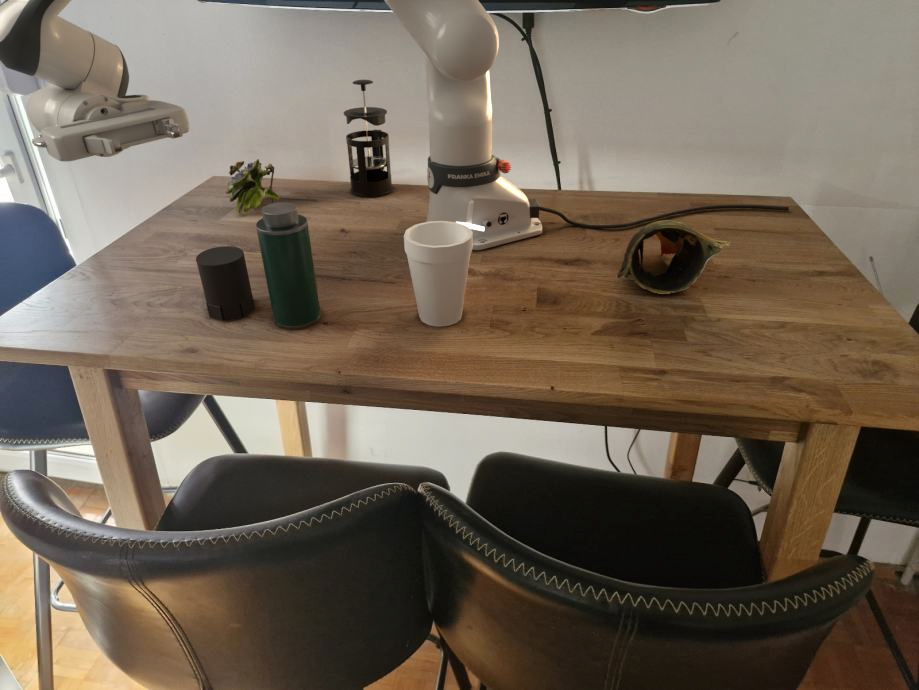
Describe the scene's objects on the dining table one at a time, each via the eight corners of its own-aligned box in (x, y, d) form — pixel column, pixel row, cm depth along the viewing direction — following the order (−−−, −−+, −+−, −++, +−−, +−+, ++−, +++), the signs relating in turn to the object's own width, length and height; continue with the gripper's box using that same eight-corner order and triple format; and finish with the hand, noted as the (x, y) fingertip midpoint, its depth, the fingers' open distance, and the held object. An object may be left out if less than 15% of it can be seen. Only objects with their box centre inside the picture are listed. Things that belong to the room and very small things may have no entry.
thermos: (316, 303, 99) (301, 196, 90) (324, 324, 94) (308, 213, 85) (271, 311, 97) (250, 203, 88) (276, 333, 92) (255, 220, 83)
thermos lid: (252, 296, 101) (241, 243, 97) (256, 316, 96) (245, 260, 91) (208, 303, 99) (195, 250, 95) (210, 324, 94) (196, 268, 89)
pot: (691, 200, 110) (726, 203, 93) (707, 262, 113) (744, 277, 95) (593, 232, 113) (609, 241, 95) (610, 293, 115) (629, 313, 98)
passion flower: (248, 227, 140) (246, 173, 141) (293, 221, 137) (291, 166, 138) (215, 214, 129) (213, 155, 130) (263, 207, 126) (261, 147, 127)
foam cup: (449, 338, 90) (447, 253, 83) (396, 321, 94) (390, 238, 87) (483, 310, 97) (484, 228, 90) (432, 295, 101) (429, 216, 94)
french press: (383, 200, 138) (375, 86, 126) (342, 197, 140) (330, 84, 128) (401, 183, 147) (394, 75, 135) (362, 180, 149) (353, 74, 137)
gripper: (17, 118, 90) (66, 132, 83) (152, 92, 104) (204, 102, 96) (34, 163, 93) (82, 180, 86) (163, 132, 107) (213, 145, 100)
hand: (147, 139), depth 91 cm, fingers open, 8 cm apart
